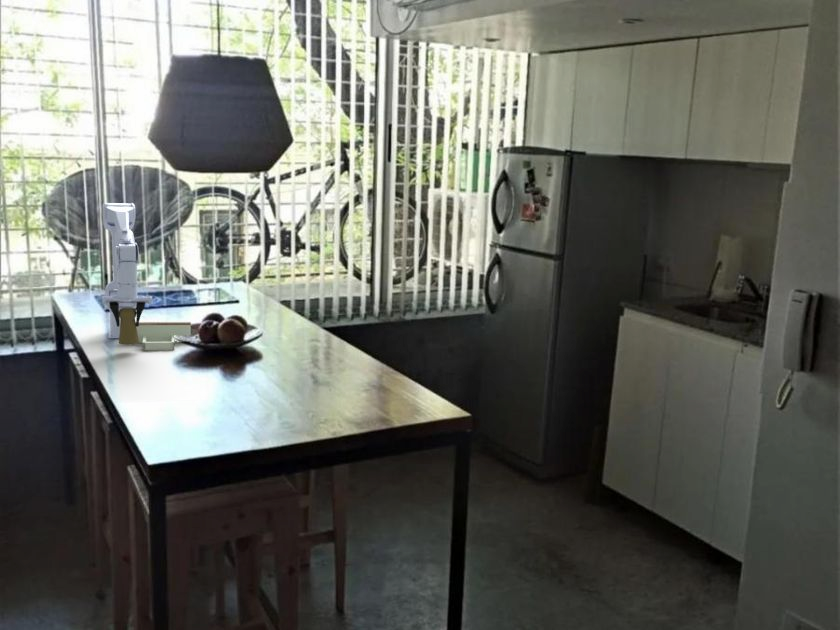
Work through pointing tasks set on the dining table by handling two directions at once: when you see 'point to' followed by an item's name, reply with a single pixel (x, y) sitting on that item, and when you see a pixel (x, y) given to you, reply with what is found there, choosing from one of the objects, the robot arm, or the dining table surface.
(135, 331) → the cork
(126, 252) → the robot arm
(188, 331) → the stand
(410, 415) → the dining table surface
